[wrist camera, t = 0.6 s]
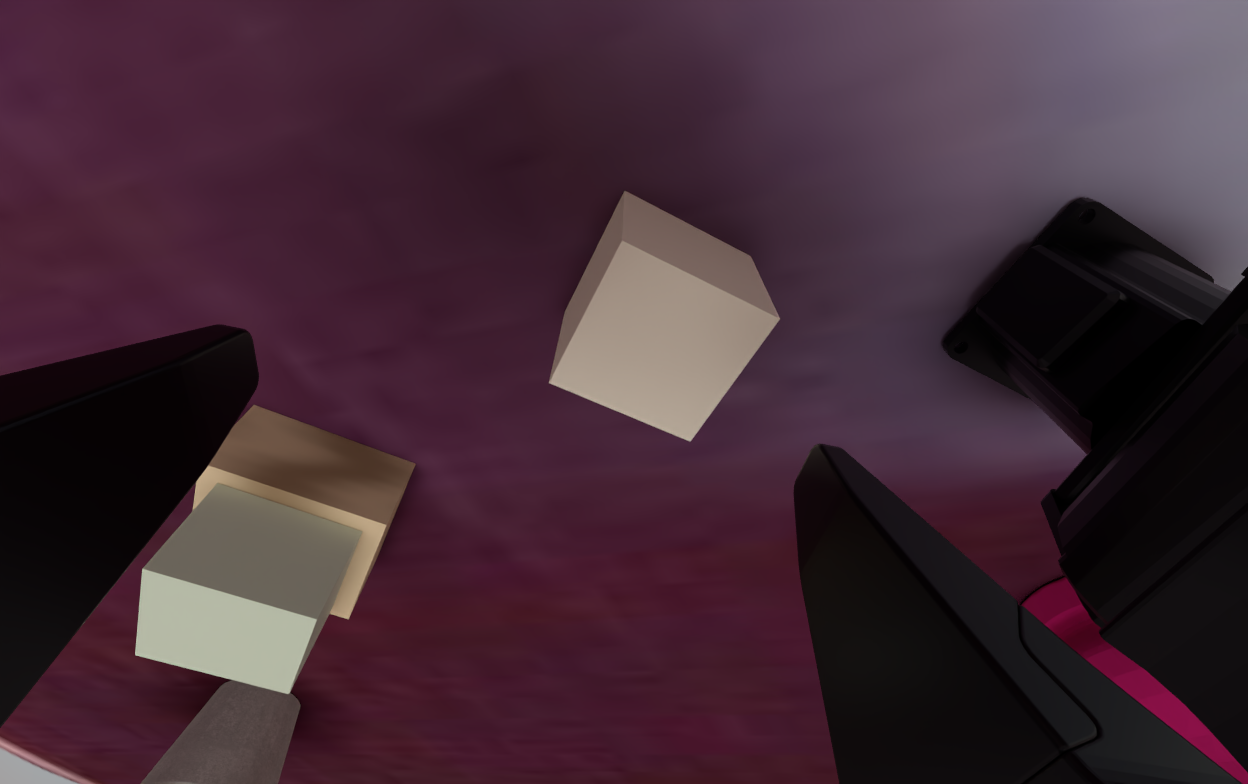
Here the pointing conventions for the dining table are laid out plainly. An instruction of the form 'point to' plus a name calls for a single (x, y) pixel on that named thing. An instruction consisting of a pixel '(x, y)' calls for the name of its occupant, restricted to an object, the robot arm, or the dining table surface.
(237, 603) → the top block
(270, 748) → the house plant
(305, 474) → the base block
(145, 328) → the dining table surface
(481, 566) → the dining table surface
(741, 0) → the dining table surface
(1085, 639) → the pepper mill
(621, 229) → the cube
